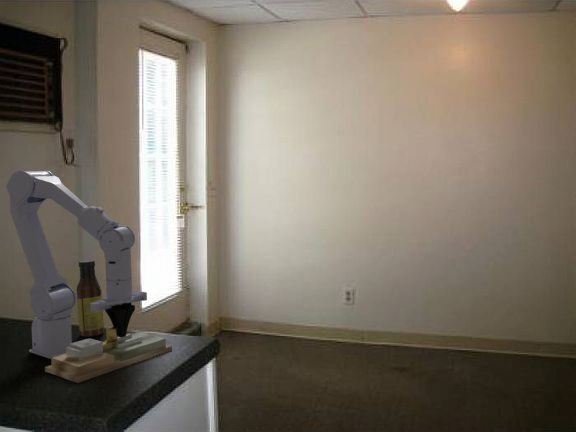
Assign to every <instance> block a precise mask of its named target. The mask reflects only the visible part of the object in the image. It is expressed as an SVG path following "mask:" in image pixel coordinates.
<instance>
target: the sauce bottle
mask: <svg viewBox="0 0 576 432" xmlns="http://www.w3.org/2000/svg"><path fill="white" fill-rule="evenodd" d="M78 267H79V273H80V274H79V277H80V279H79V282H78V284H77V286H76V303H77V314H78V315H77V316H78V328H79V331H80V333H79V334H80V336H82V337H85V338H87V337H88V338H91V337H97V336H99V335H102V334H104V328H105V327H104V326H105V324H104V323H105V322H104V310H101V311H99V312H91V310H90V303H93V302H96V301H99V300H101V299H103V296H102V289H101V287H100V284H99V282H98V279H97V277H96V270H95V267H96V262H95V260H94V259H84V260H83V259H82V260H80V261H78Z"/></svg>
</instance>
